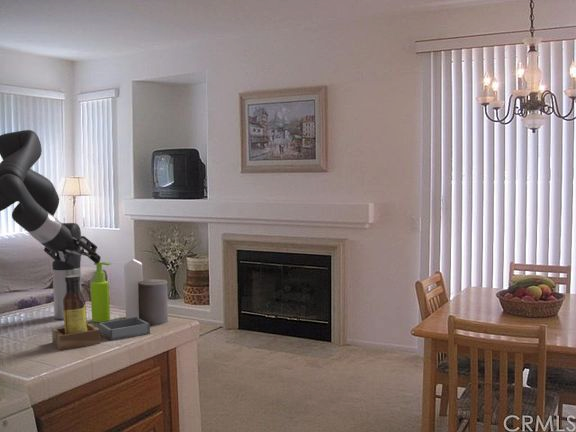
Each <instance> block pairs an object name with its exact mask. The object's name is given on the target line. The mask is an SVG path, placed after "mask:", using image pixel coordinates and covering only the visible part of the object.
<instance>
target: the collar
mask: <svg viewBox="0 0 576 432" xmlns="http://www.w3.org/2000/svg"><path fill="white" fill-rule="evenodd" d="M51 339H52V341H51V342H52V344H53V345H54V346H55V347H57V349H59V350H60V351H64V350H69V349H75V348H77V349H78V348H81V347H87V346H93V345H99V344H101V334H100V330H99V329H98V327H97V326H95V325H93V324H91V322H89V323H87V331H85V332H78V333H72V334H66V335H65V328H64V326H63V327H58V328H57V327H56V328H52V329H51Z"/></svg>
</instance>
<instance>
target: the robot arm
mask: <svg viewBox="0 0 576 432" xmlns="http://www.w3.org/2000/svg"><path fill="white" fill-rule="evenodd" d="M41 155H42V144H41V140H40V138H39V135H38V134H37V133H36V132H35V131H33V130H31V129H26V130H25V129H24V130H17V131H13V132H7V133H3V134H0V158H1V159H2V161H1V162H0V212H1V211H4V210H6V209H7V208H9V207H10V206H11V205H14V204H16V203H17V202H18V203H17V205H15V207H14V208H13V210H12V213H11V218H12V220H13V221H14V222H15V223H16V224H17V225H19V226H20V227H22V229H24V231H26V232H28V234H30V236H31V237H32V238H34V240H36V241H37V242H38V243H39V244H41V245H43V246H44V249H43V251H44V252H45V254H47V255H48V256H49V257H50V258H52V259H53V260H52V290H53V311H54V312H53V313H54V314H53V315H54V316H53V318H54V319H56V320H64V313H63V309H64V308H63V299H64V297H65V295H66V281H65V277H66V276H71V275H79V276H80V281H79V283H80V290H81V291H82V273H81V269H82V268H81V259H82V256H85V257H88V259H89V260H91V261H92V262H93V263H96V264H97V263H99V262H101V256H100V255H99V254H98V253H97V249H98V246H97V245H96V244H95V243H93V242H92V241H91V240H89V239H88V238H87V237H86V236H84V235H82V232H81V228H80V225H79V224H78V223H76V222H61V221H60V220H59V219H57V217H55V213H57V210H58V207H59V206H60V205H59V204H60V197H59V194H58V192H57V190H56V188H55V185H54V184H53V183H52V182H51V180H50V179H48V178H47V177H46V176H44V175H43V174H41V173H38V172H37V171H36V170H33V169H32V168H33V166H34V165H35V164H36V162H38V161H39V159H40V158H41Z"/></svg>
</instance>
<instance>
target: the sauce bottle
mask: <svg viewBox="0 0 576 432" xmlns="http://www.w3.org/2000/svg"><path fill="white" fill-rule="evenodd" d="M65 281H66V295H65V297H64V299H63V308H64V309H63V313H64V319H63V325H64V326H63V327H64V328H65V335H66V334H72V333H78V332H85V331H87V324H88V321H87V319H88V318H87V306H86V305H87V304H86V300H85V298H84V296H83V293H82V289H81V290H80V283H79V281H80V276H79V275H71V276H66V277H65Z"/></svg>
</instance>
